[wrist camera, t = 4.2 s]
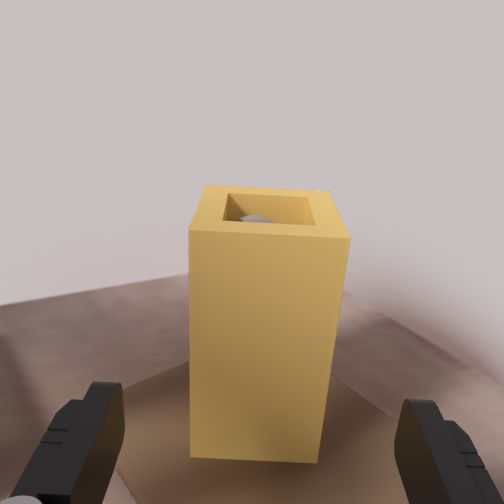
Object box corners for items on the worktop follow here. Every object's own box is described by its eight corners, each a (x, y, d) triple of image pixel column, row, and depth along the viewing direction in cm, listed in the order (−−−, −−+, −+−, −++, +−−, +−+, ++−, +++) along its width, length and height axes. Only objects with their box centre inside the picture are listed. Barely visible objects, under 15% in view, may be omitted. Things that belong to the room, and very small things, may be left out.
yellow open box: (317, 463, 19) (350, 238, 15) (190, 457, 19) (188, 229, 15) (302, 359, 25) (323, 181, 21) (207, 355, 25) (209, 174, 21)
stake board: (86, 422, 22) (59, 214, 17) (264, 342, 28) (277, 177, 24) (293, 751, 12) (347, 461, 8) (493, 512, 18) (582, 284, 14)
